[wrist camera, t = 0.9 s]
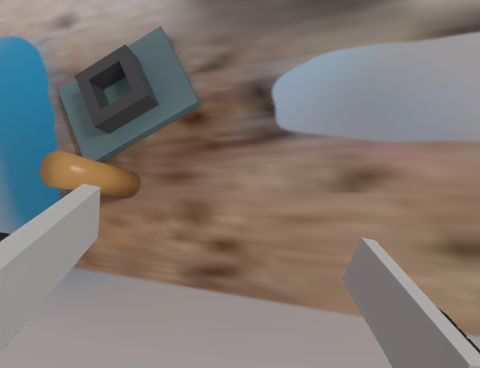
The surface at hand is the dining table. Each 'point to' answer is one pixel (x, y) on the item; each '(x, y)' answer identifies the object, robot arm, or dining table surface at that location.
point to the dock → (148, 122)
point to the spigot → (87, 174)
